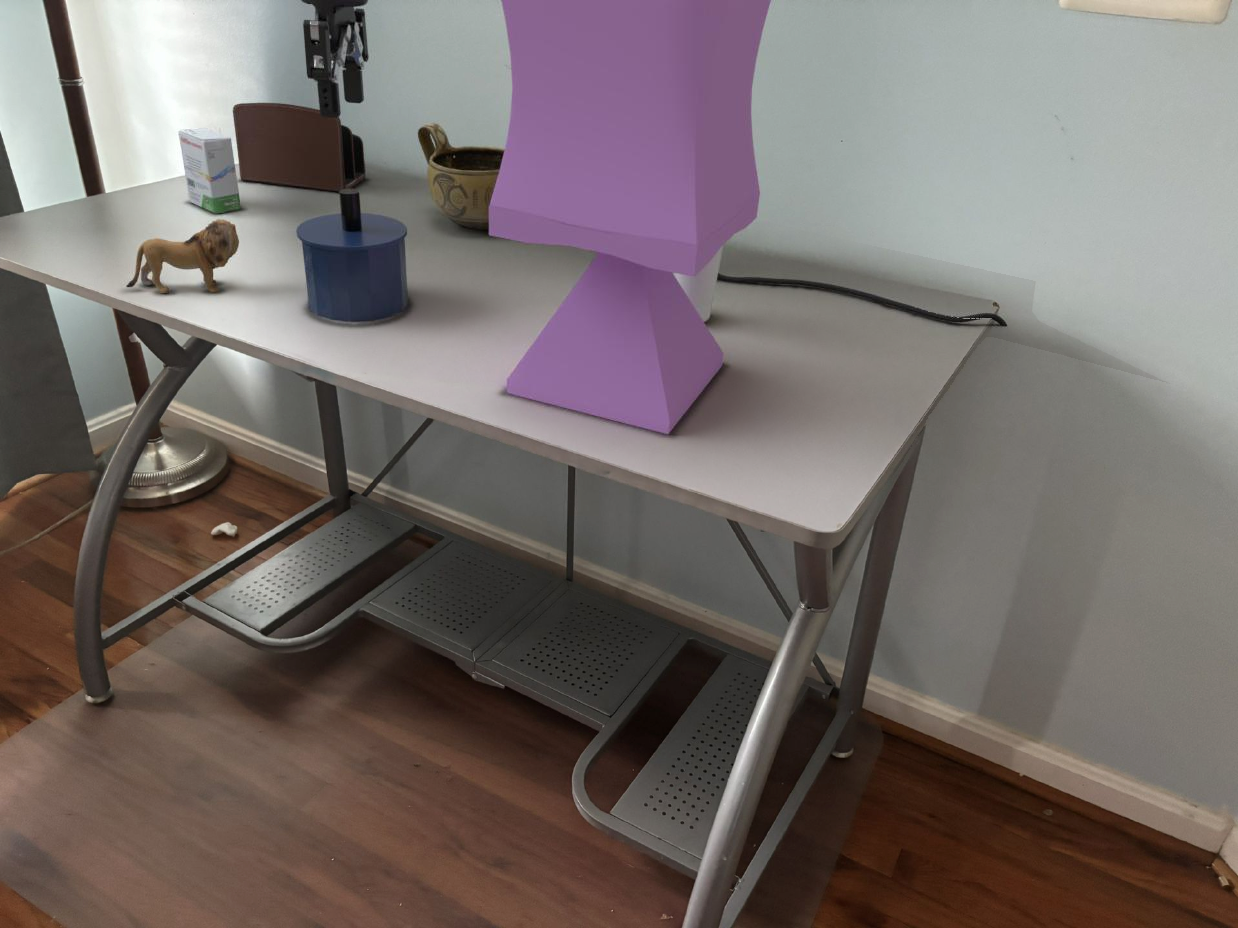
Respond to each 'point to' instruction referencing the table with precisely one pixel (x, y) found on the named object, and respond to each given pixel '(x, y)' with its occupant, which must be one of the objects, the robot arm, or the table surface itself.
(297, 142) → the letter holder
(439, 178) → the ceramic bowl
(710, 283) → the drinking glass
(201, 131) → the ink box
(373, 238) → the lid
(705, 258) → the purple table lamp
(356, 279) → the pot
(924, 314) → the robot arm
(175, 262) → the lion figurine
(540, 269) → the table surface
